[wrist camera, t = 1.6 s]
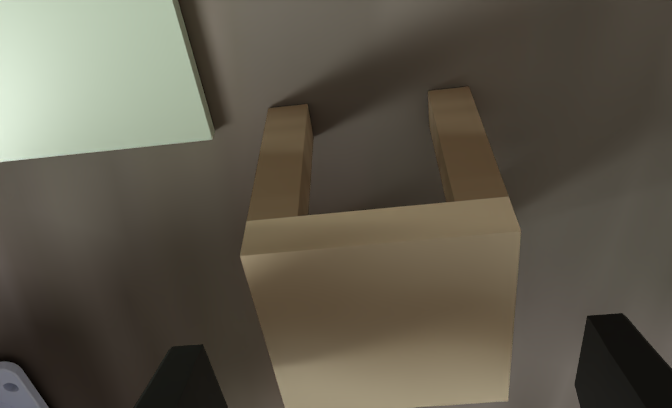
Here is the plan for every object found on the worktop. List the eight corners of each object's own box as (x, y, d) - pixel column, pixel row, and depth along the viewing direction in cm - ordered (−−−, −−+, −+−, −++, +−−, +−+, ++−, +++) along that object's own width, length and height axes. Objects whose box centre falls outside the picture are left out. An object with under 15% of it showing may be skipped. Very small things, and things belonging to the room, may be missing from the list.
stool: (467, 239, 18) (507, 401, 14) (300, 254, 18) (287, 416, 14) (468, 86, 15) (520, 230, 11) (268, 108, 15) (240, 256, 11)
